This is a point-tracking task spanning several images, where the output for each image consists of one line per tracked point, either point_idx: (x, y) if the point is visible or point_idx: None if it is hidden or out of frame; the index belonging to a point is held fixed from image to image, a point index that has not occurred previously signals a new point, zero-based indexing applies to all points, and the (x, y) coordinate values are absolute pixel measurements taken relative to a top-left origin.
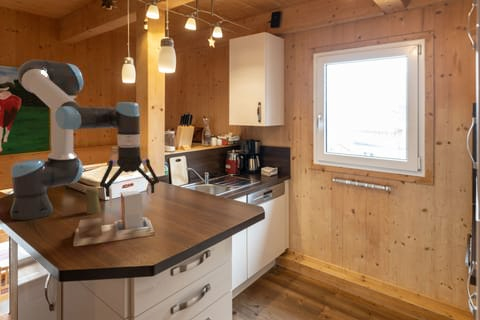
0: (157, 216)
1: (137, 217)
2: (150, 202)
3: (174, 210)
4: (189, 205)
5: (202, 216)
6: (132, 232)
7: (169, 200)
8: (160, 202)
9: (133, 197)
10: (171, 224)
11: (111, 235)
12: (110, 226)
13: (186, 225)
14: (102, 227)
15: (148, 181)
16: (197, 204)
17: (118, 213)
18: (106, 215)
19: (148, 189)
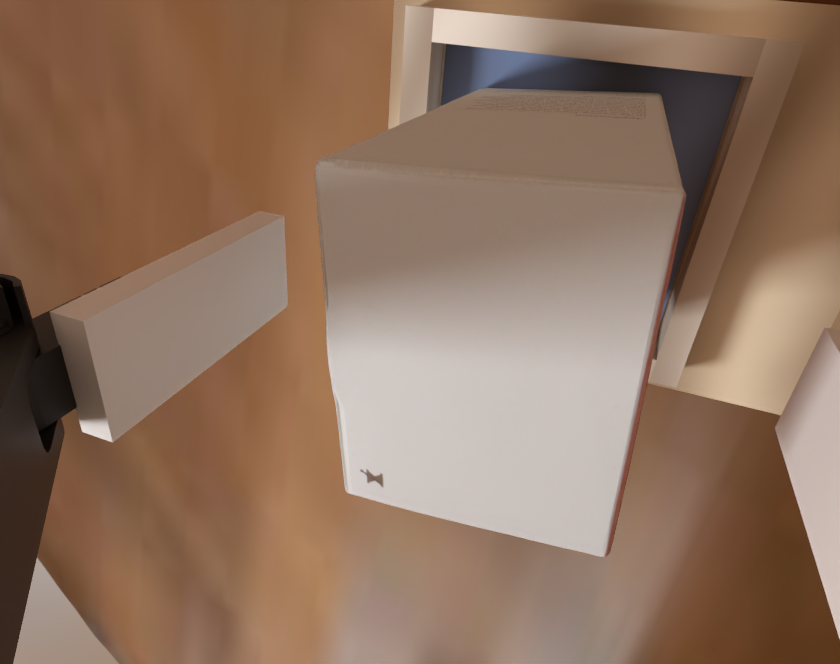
0: (317, 393)
1: (504, 106)
2: (270, 214)
3: (203, 429)
4: (116, 453)
5: (40, 216)
6: (607, 23)
7: (217, 591)
8: (267, 596)
9: (477, 165)
10: (245, 173)
11: (827, 87)
12: (726, 347)
13: (143, 84)
14: (805, 364)
15: (7, 378)
16: (73, 440)
17: (547, 598)
18: (636, 617)
19: (176, 365)
